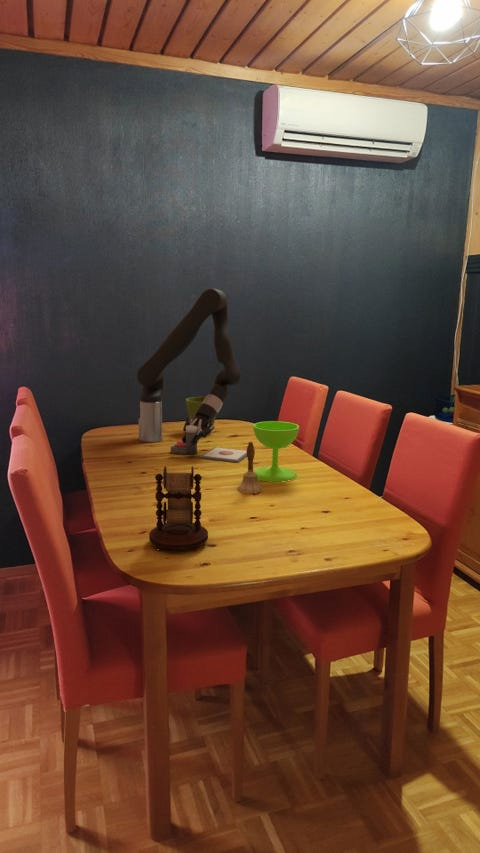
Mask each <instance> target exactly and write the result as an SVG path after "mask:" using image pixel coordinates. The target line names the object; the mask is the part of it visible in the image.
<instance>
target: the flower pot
mask: <svg viewBox="0 0 480 853" xmlns="http://www.w3.org/2000/svg"><path fill="white" fill-rule="evenodd" d="M206 397H207V396H194V397H193V396H192V397H187V398H186V399H185V404H186V410H187V413H188V414H187V415H188V418H189V419H193V418H194V417H195V416H196V412H197V410H198V408H199V407H200V405H201V404H202V402H203V401H204V399H205V398H206ZM216 417H217V416H216ZM216 417H215V419H214V420H213V422H212V424H213V426H215V422H216ZM205 433H206V432H205ZM205 433H204V434H205ZM211 433H212V431H211V432H210V433H209V434H208V435H211Z"/></svg>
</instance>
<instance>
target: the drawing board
mask: <svg viewBox="0 0 480 853" xmlns="http://www.w3.org/2000/svg"><path fill="white" fill-rule="evenodd" d="M246 458H247V449H246V450H245V449H235V448H227V447H226V448H225V447H218V446H217V447H216V446H215V447H213V448H212V449H210V450H208V451H207V452H205V453H203V454H201V455H199V459H201V460H202V459H203V460H211V461H217V462H219V461H220V462H228V463H234V464H235V463H236V464H237V463H238V464H239V463H240V462H242V461H243V460H244V459H246Z"/></svg>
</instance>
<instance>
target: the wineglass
mask: <svg viewBox="0 0 480 853" xmlns="http://www.w3.org/2000/svg"><path fill="white" fill-rule="evenodd" d="M252 426H253V432H254V435H255V438H256V440H258V442H259V443H260V444H261V445H263V446H264V447H265V448H269V449H272V459H271V462H272V463H271V466H268V467H266V466H265V467H260V468H258V469H256V470H253V472H255V473H256V474H257V477H258V479H259V480H258V481H260V480H262V481H261V482H264V481H271V482H270V483H272V482H282V481H288V480H292V479H295V478H296V477H297V478H298V475H297V472H295V471H294V470H291V469H289V468H285V467H279V464H278V463H279V461H278V460H279V450H280V449H284V448H287V447H289V446H290V445H291V444H293V442H294V441H295V440H296V439H297V438H298V434H299V430H300V426H299V424H296V423H295V422H294V423H293V422H289V421H278V420H277V421H276V420H269V421H268V420H267V421H260V422H256V423H253V425H252ZM295 480H296V479H295ZM282 483H283V482H282Z"/></svg>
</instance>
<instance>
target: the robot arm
mask: <svg viewBox="0 0 480 853" xmlns="http://www.w3.org/2000/svg"><path fill="white" fill-rule="evenodd" d="M210 316H211V317H212V322H213V327H214V330H213V331H214V332H213V333H214V334H213V341H214V342H213V345H214V350H215V351H214V352H215V354H216V360H217V362H218V363H219V364H222V365H223V367H224V369H221V370H220V371H219V372H218V373H217V375H216V377H215V380H214V382H213V386H212V388H211V390H210V391H209V392H208V394H207V395H206V396H205V397H206V398H205V399H204V401H203V402H202V404H201V405H200V407H199V408H198V410H197V412H196V416H195V417H194V418H193V419H190V418H189V417H188V418H186V420H185V422H184V424H183V425H184V426H183V428H182V430H183V432H185V433H184V434H183V436H182V438H181V440H182V442H183V443H186V426H188V425H195V426H197V433H196V435H195V436H194V438H193V439H192V441H191V444H192V445H194V446H195V444H197V445H198V443H199V440H200V439H202V438H204V439H205V438H207V436H208V435H210V434H211V433H212V431H213V430H214V429H215V425H213V424H212V422H213V420H214V419H215V420H216V418H215V417H217V416H218V414H219V413H220V411H221V408H222V406H223V404H224V402H225V401H226V400H227V398H228V396H229V390H228V388H229V387H230V386H235V385H237V384H239V383H240V381H241V380H242V372H241V369H240V366H239V364H238V362H237V360H236V358H235V355H234V350H233V349H234V348H233V344H232V338H231V334H230V328H229V326H230V325H229V317H228V299H227V296H226V293H225V292H224V291H223V290H221V289H218V288H214V287H213V288H211V287H210V288H207V289H205V290H204V291H203V292H202V293H201V294H200V296H199V297H198V299H197V300H196V302H195V303H194V305H193V306H192V307H191V309H190V310H189V311H188V313H187V314H186V315H184V317H183V318H182V319H180V320H181V321H179V322H178V324H177V325H176V326H175V327H174V328H173V329H172V330H171V331H170V333H169V334H168V335H167V336H166V338H165V339H164V341H162V343H161V344H160V346H159V347H158V348H157V349H156V350H155V353H153V355H152V356H151V357H150V358H149V359H148V360H147V361H145V362H144V363H143V364H142V365H141V366H140V367H139V369H138V370H137V373H136V380H137V382H138V383H139V385H141V386H142V391H141V393H140V394H139V395H140V396H139V410H140V412H139V413H140V414H139V415H140V417H139V418H138V441H141V442H144V443H155V442H156V443H157V442H161V441H163V409H162V408H163V407H162V406H163V405H162V403H163V402H162V399H163V398H162V397H163V394H164V370H165V369H166V367H168V365H169V364H171V363H172V362H174V361H175V360H176V359H177V358H178V357H180V356H181V355H182V354H183V353H184V352H185V351H186V350H187V349H188V348H189V347H190V346H191V344H192V343H193V341H194V340H196V337H197V336H198V333H199V331H200V328H201V326H202V325H203V323H204V322H205V321H206V320H207V319H208V318H209V317H210ZM205 432H206V433H205ZM210 432H211V433H210ZM204 433H205V434H204ZM209 433H210V434H209Z"/></svg>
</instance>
